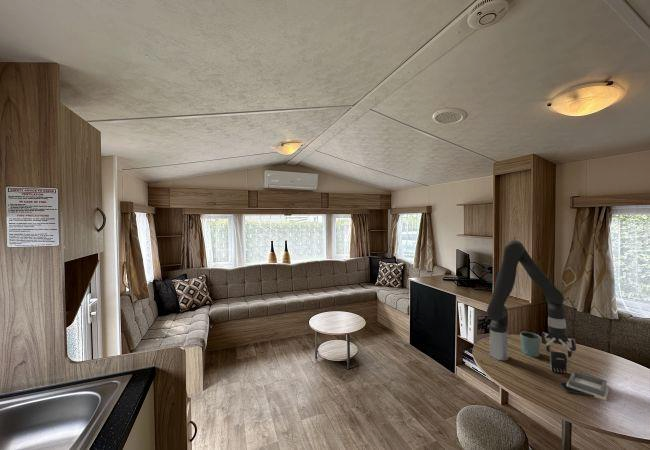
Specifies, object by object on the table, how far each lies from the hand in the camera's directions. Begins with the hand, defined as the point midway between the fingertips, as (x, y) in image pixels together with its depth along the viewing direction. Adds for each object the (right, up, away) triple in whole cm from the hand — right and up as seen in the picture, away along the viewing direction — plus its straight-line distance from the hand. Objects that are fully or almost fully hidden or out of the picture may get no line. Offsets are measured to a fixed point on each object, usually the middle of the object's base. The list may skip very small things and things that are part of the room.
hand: (559, 354), depth 146 cm
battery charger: (+1, -11, +1) cm, 11 cm away
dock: (+3, -10, -13) cm, 17 cm away
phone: (-2, -11, -15) cm, 19 cm away
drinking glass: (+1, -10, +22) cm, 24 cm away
